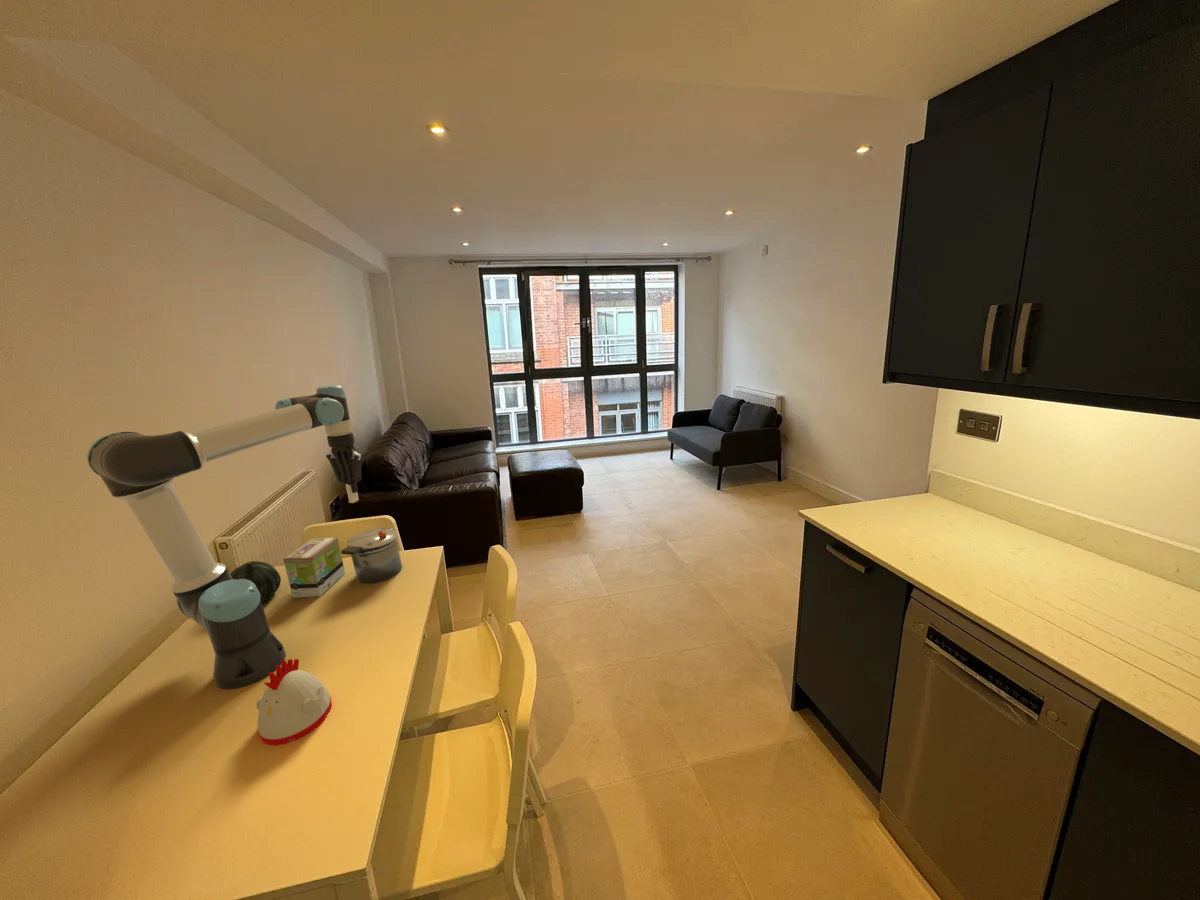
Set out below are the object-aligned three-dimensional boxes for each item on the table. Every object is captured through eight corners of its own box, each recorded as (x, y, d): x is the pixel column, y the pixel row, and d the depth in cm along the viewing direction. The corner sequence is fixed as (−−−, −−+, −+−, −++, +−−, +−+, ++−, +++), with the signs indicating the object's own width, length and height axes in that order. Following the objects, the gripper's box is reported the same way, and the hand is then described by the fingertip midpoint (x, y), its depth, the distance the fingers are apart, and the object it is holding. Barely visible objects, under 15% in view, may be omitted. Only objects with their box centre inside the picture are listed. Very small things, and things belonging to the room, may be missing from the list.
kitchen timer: (243, 742, 98) (223, 685, 94) (293, 692, 112) (277, 640, 107) (301, 747, 96) (283, 689, 92) (345, 696, 109) (331, 642, 105)
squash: (236, 576, 159) (218, 559, 147) (286, 567, 164) (273, 550, 152) (232, 617, 152) (213, 603, 140) (285, 605, 157) (271, 591, 145)
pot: (382, 586, 156) (375, 554, 153) (345, 582, 161) (338, 551, 157) (414, 561, 172) (408, 532, 169) (380, 558, 176) (373, 529, 173)
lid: (367, 556, 149) (365, 546, 149) (328, 552, 154) (326, 542, 153) (408, 532, 168) (406, 523, 167) (372, 529, 173) (370, 520, 172)
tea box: (321, 597, 152) (311, 557, 148) (292, 598, 153) (281, 558, 149) (346, 573, 167) (337, 536, 163) (319, 574, 167) (310, 537, 163)
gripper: (364, 430, 150) (378, 498, 156) (333, 430, 154) (347, 496, 160) (346, 436, 143) (361, 506, 150) (314, 436, 147) (329, 504, 153)
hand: (354, 501), depth 155 cm, fingers closed
